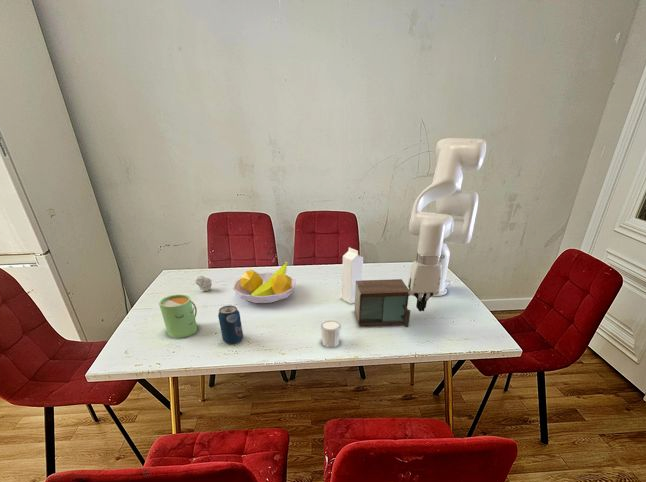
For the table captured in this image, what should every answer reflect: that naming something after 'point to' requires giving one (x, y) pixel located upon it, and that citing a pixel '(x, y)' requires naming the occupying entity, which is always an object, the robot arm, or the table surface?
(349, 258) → the milk
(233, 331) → the soda can
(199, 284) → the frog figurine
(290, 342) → the table surface
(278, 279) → the fruit bowl
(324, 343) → the shot glass
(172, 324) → the mug
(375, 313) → the cabinet
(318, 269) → the table surface
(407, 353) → the table surface
